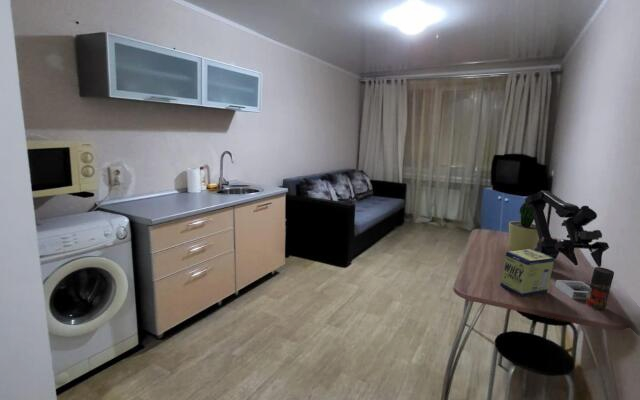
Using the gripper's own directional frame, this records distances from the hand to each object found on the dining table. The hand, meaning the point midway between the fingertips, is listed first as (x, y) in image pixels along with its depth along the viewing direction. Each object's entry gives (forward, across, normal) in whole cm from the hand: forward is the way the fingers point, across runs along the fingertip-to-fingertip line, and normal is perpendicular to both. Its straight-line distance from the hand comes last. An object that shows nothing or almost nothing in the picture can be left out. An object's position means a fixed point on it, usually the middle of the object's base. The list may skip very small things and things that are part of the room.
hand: (588, 265), depth 139 cm
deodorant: (+15, 0, +4) cm, 16 cm away
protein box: (+7, -21, +12) cm, 26 cm away
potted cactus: (-27, +3, +47) cm, 55 cm away
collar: (+8, 0, +11) cm, 14 cm away
